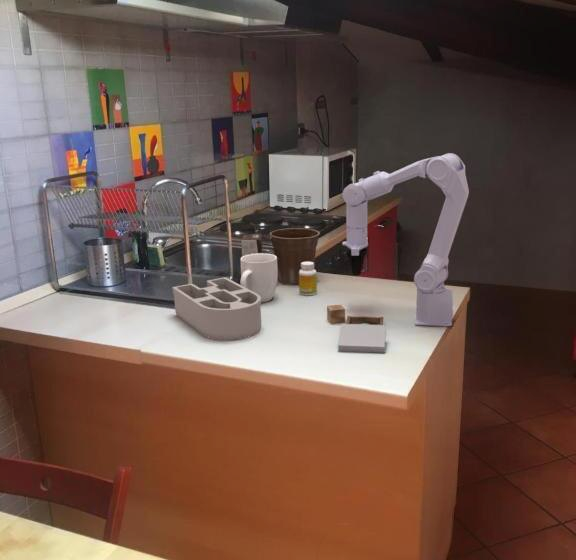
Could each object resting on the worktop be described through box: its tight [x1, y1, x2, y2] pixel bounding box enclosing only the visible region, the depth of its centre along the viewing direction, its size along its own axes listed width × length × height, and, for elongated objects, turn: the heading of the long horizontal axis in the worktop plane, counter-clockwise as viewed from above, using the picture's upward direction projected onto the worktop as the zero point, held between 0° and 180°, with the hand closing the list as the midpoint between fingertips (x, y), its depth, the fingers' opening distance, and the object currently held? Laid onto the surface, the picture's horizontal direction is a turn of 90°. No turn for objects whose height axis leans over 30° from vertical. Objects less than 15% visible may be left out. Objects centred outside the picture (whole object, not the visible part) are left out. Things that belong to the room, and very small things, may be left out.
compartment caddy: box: [172, 276, 262, 341], centre depth 173 cm, size 17×28×9 cm, turn 31°
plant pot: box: [269, 227, 321, 286], centre depth 209 cm, size 16×16×16 cm
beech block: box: [326, 304, 346, 325], centre depth 172 cm, size 4×4×4 cm
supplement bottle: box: [298, 262, 318, 296], centre depth 196 cm, size 5×5×10 cm
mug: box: [239, 252, 278, 303], centre depth 190 cm, size 15×11×13 cm
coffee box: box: [240, 233, 264, 257], centre depth 206 cm, size 9×6×16 cm
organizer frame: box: [345, 315, 385, 325], centre depth 164 cm, size 10×14×2 cm
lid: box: [337, 323, 386, 354], centre depth 155 cm, size 11×8×2 cm
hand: (356, 274), depth 178 cm, fingers closed
